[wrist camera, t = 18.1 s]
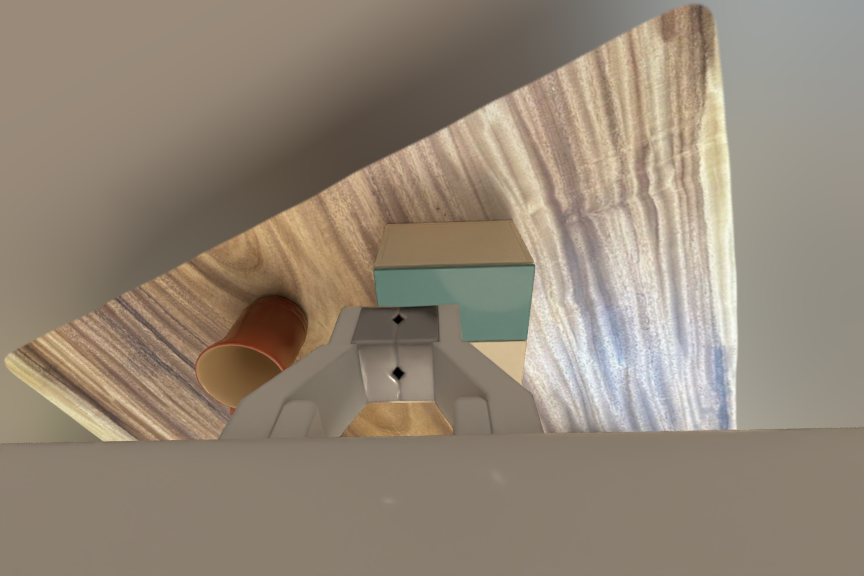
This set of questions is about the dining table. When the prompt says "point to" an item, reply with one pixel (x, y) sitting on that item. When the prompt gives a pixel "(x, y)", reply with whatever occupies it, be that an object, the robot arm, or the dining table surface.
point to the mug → (252, 350)
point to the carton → (461, 248)
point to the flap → (466, 296)
